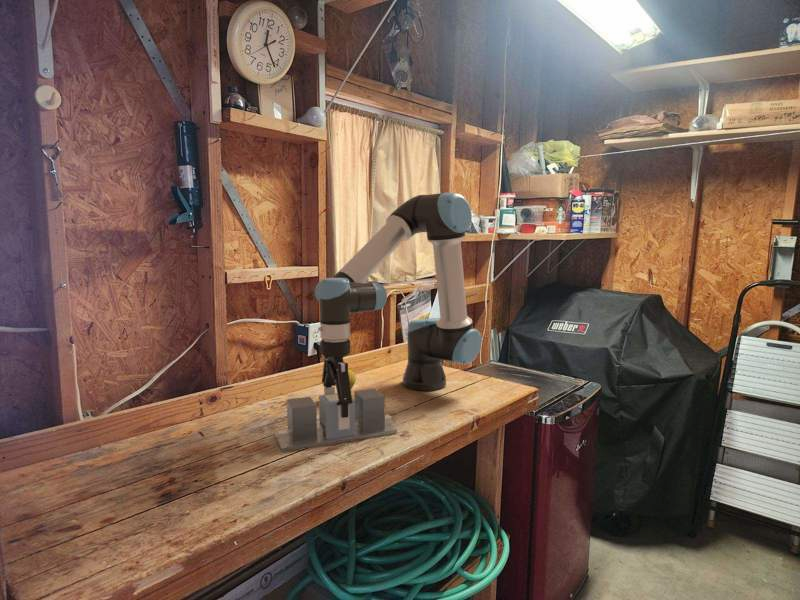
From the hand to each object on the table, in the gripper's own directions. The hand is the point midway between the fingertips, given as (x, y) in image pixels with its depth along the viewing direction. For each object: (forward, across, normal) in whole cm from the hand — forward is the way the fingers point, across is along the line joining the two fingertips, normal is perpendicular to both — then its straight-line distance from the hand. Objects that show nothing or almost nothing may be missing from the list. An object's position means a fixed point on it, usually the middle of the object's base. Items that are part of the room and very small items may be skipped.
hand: (336, 419), depth 129 cm
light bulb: (+4, -26, +10) cm, 28 cm away
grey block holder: (+4, 0, 0) cm, 4 cm away
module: (+3, 0, 0) cm, 3 cm away
